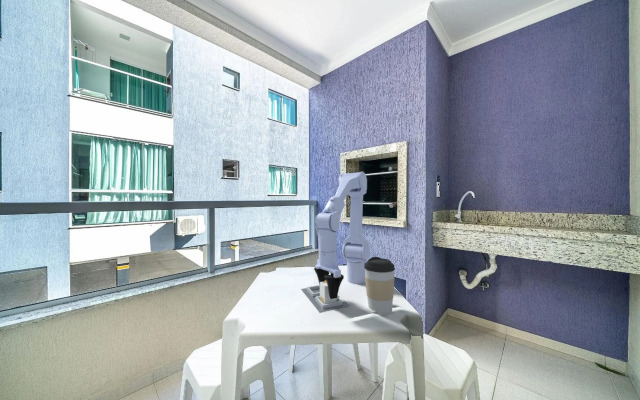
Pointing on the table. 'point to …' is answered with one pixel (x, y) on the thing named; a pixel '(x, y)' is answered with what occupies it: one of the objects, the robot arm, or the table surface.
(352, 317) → the table surface
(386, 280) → the coffee cup
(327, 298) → the plug
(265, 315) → the table surface
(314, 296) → the panel
